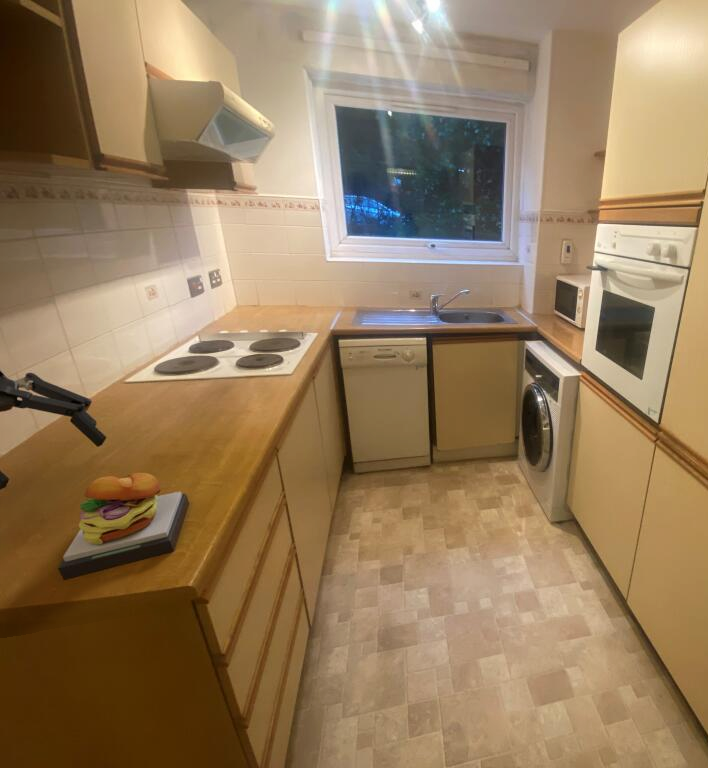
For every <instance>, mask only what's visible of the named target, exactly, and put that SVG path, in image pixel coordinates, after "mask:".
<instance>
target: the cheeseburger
mask: <svg viewBox="0 0 708 768" xmlns="http://www.w3.org/2000/svg"><path fill="white" fill-rule="evenodd" d="M162 492H163V491H162V489H160V484H159V481H158V479H157V478H156V477H155V476H154V475H153V474H150V473H147V472H133V473H131V474H129V475H127V476H125V477H121V478H118V477H117V476H112V475H110V476H109V475H108V476H102V477H99V478H97V479H95V480H93V481H92V483H91V484H90V485H89V486H88V487H87V489H86V491H85V493H84V497H85V498H87V499H86V501H82V502H81V504H80V510H81V511H82V512H81V513H80V514H79V519H80V521H79V523H78V528H79V530H80V529H81V530H82V531H83V534H84V538H85V540H86V541H87V542H90V543H92V544H95V545H100V544H102V543H103V541H108V540H112V539H116V538H119V537H122V536H125V535H127V534H130V533H133V532H135V531H137V530H139V529H142V528H144V527H145V526H147V525H148V524H149V523H150V522H152V521H153V519H154V517H155V515H156V509H157V502H156V501H157V496H159V494H160V493H162Z"/></svg>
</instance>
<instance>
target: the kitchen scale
mask: <svg viewBox="0 0 708 768" xmlns="http://www.w3.org/2000/svg"><path fill="white" fill-rule="evenodd" d="M187 495H188V494H187V493H182V491H175V492H170V493H167V494H162V495H157V501H156V502H157V509H156V515H155V517H154V519H153V521H152V522H150V523H149V524H148V525H147V526H145V527H144V528H142V529H139V530H137V531H135V532H133V533H130V534H127V535H125V536H122V537H119V538H116V539H112V540H108V541H103V543H102V544H100V545H95V544H92V543H90V542H87V541H86V540H85V538H84V534H83V531H82V530H81V529H80V528H79V530H78V532H77V534H76V536H75V537H74V539H73V540H72V542H71V543H70V545H69V547H68V548H67V550H66V551H65V552H64V554H63V556H62V561H61V562H60V564H59V565H58V567H57V570H58V571H59V573H60V576H61V577H62V579H63V580H68V579H73V578H76V577H80V576H84V575H89V574H91V573H97V572H99V571H103V570H108V569H112V568H115V567H118V566H124V565H128V564H131V563H135V562H139V561H143V560H146V559H149V558H153V557H158V556H162V555H165V554H169V553H173V552H174V551H175V549H176V547H177V542H178V539H179V537H180V535H181V534H180V533H181V531H182V527H183V524H184V522H185V519H186V515H187V512H188V509H189V506H190V501H189V498H188V496H187Z"/></svg>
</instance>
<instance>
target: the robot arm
mask: <svg viewBox="0 0 708 768" xmlns="http://www.w3.org/2000/svg"><path fill="white" fill-rule="evenodd" d="M20 388H21V389H20ZM22 389H25V390H22ZM31 391H32V392H33V393H36V394H33V393H32V392H31ZM37 394H38V395H37ZM18 398H20V399H21V400H20V399H18ZM92 403H93V401H92V399H90V398H88V397H86V396H83V395H81V394H78V393H76V392H74V391H71V390H68V389H65V388H64V387H60V386H58V385H56V384H53V383H51V382H49V381H46V380H43V379H42V378H41V377H39V376H38V375H37V374H36V373H34V372H27V373H26V374H25V376H24V377H22V378H19V379H16V380H13V379H11V378H9V377H7V376H6V375H5V373H3V371H2V370H1V369H0V412H1V413H2V412H8V411H10V410H12V409H13V408H17V409H31V410H35V411H39V412H46V413H50V414H55V415H60V416H64V417H68V418H69V417H70V419H69V422H70V423H71V424H72V425H73V426H74V427H75V428H76V429H78V430H79V431H80V432H81V433H82V434H83V435H84V436H86V438H87V439H88V440H89V441H90V442H91V443H92V444H93V445H95V446H96V447H97V448H99V447H101V446H102V445H103V444H104V443H105V441H106V440H107V436H106V435H105V434H104V433H103V432H102V431H101V430H100V429H98V427H96V426H97V423H98V422H97V420H96V419H95V418H93V417H92V416H91V414H90V413H88V412H87V411H88V410H89V408H90V407H91V405H92ZM9 480H10V478H9V477H8V475H6V474H5V473H4V472H2V471H1V470H0V490H2V489H5V488H7V485H8V483H9Z"/></svg>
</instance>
